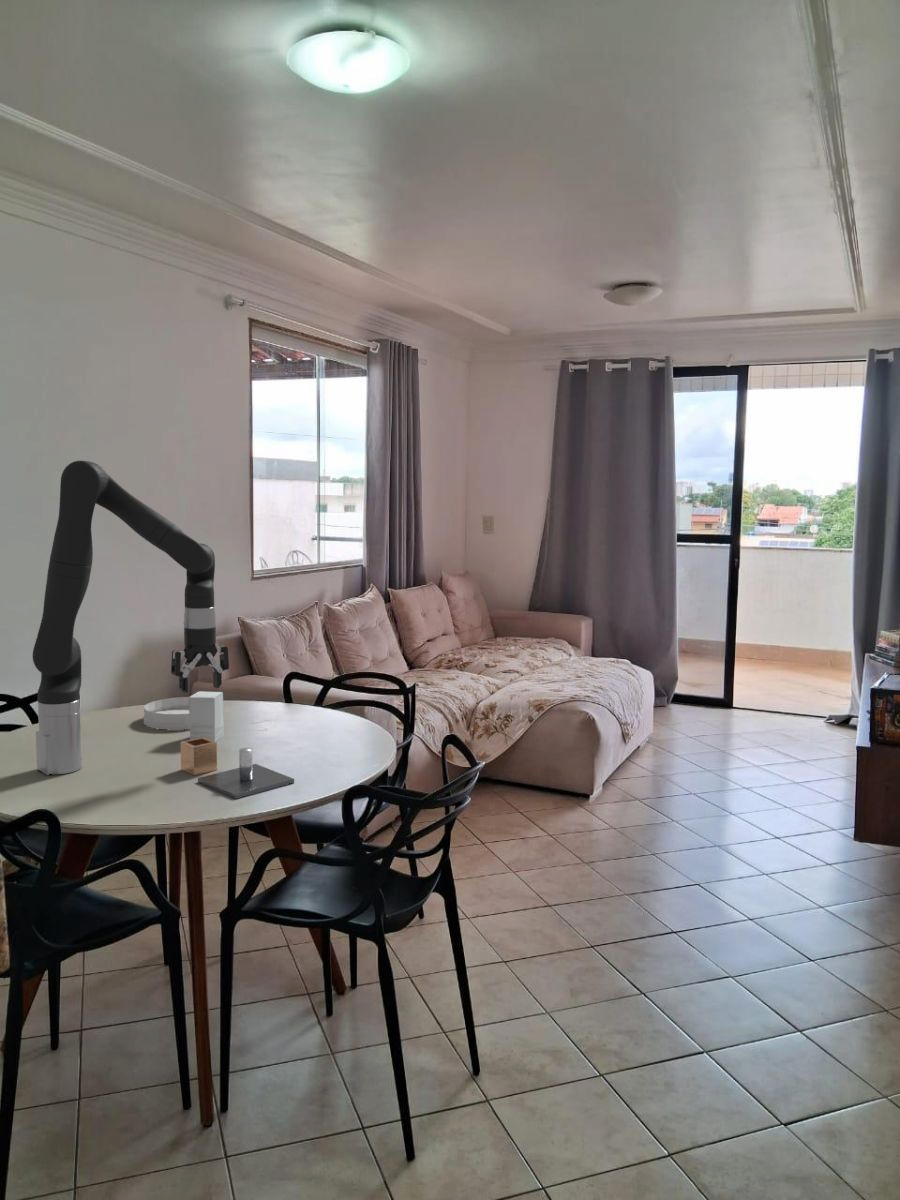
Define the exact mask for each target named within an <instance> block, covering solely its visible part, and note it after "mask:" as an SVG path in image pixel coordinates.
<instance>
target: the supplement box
mask: <svg viewBox="0 0 900 1200" xmlns="http://www.w3.org/2000/svg"><path fill="white" fill-rule="evenodd" d="M188 697H189V718H190V730H189V740H192V739H197V738H202V737H204V738H207V739H209V740H212V741H214V742H218V741H219V740H220V739H221V738H223V737H224V736H225V730H224V729H225V727H224V726H225V724H224V693H223V691H201V690H200V691H196V693H194V694H192V695H190V696H188Z"/></svg>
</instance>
